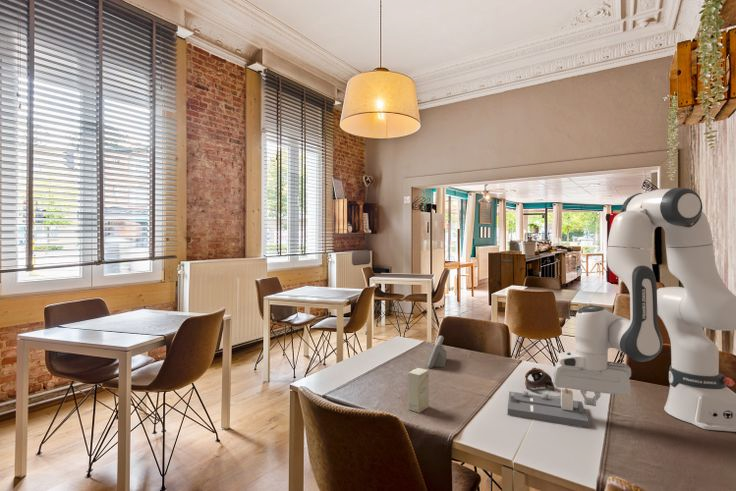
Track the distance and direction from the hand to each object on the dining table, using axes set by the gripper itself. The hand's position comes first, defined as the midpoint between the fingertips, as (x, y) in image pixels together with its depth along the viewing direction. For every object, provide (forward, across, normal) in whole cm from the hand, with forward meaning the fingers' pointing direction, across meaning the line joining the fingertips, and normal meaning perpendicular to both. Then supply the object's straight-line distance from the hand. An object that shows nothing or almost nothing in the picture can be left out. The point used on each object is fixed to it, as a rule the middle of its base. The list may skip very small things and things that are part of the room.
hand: (590, 404), depth 116 cm
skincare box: (+4, +50, +12) cm, 52 cm away
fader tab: (+2, +6, 0) cm, 7 cm away
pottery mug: (+4, +14, -19) cm, 24 cm away
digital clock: (+4, +55, -33) cm, 64 cm away
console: (+4, +12, 0) cm, 13 cm away
